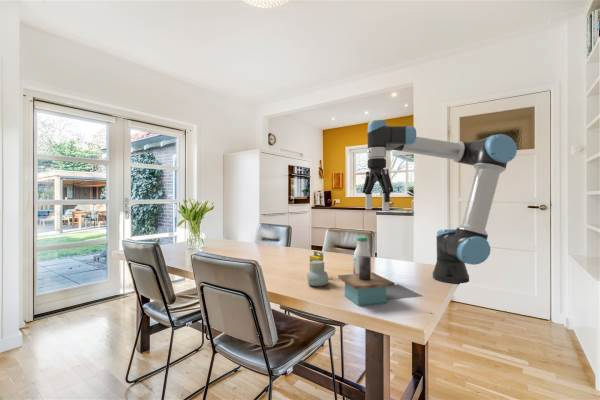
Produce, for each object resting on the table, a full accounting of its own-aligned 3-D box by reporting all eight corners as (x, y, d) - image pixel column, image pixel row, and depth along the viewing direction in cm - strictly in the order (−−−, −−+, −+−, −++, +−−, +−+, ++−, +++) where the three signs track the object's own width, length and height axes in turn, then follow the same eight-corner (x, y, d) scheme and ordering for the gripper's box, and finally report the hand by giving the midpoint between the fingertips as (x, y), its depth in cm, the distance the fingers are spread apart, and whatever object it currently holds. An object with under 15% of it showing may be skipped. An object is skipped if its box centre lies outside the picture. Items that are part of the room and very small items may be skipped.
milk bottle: (374, 281, 136) (374, 237, 136) (365, 285, 130) (365, 238, 130) (359, 278, 141) (359, 235, 141) (350, 281, 135) (350, 237, 135)
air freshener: (328, 288, 126) (328, 264, 126) (309, 288, 125) (309, 264, 125) (325, 281, 137) (324, 259, 136) (306, 281, 136) (306, 259, 136)
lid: (372, 275, 120) (372, 252, 120) (394, 285, 105) (394, 259, 105) (337, 277, 116) (337, 254, 116) (355, 289, 101) (355, 262, 101)
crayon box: (309, 275, 147) (309, 251, 146) (314, 274, 148) (314, 251, 148) (318, 278, 141) (318, 253, 140) (323, 277, 142) (323, 253, 142)
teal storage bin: (370, 294, 117) (370, 276, 117) (386, 304, 107) (386, 284, 107) (344, 297, 114) (344, 278, 114) (358, 307, 104) (358, 287, 104)
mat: (398, 285, 129) (398, 284, 129) (423, 297, 114) (423, 296, 114) (364, 288, 125) (364, 287, 125) (386, 301, 110) (386, 300, 110)
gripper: (355, 161, 136) (355, 208, 136) (385, 154, 112) (385, 211, 112) (369, 162, 138) (369, 208, 138) (402, 154, 114) (402, 210, 114)
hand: (376, 209), depth 125 cm, fingers open, 13 cm apart
